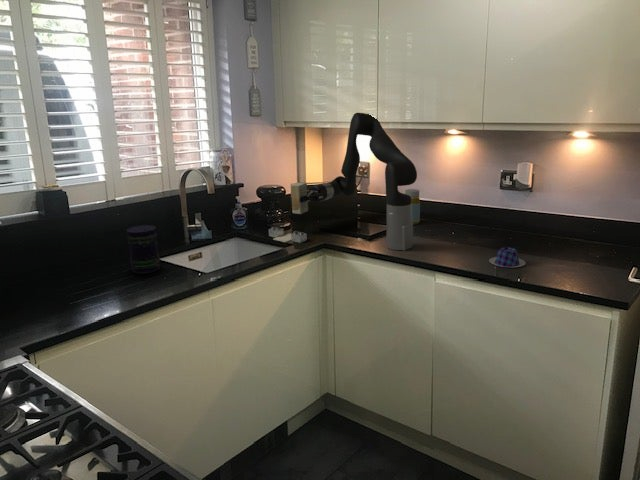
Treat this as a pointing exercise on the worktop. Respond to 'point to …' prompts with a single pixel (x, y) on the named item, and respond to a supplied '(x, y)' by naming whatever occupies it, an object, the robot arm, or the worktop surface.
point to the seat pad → (284, 238)
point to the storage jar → (143, 248)
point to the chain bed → (295, 235)
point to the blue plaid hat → (507, 258)
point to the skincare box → (296, 193)
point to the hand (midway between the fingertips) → (295, 199)
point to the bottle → (414, 205)
